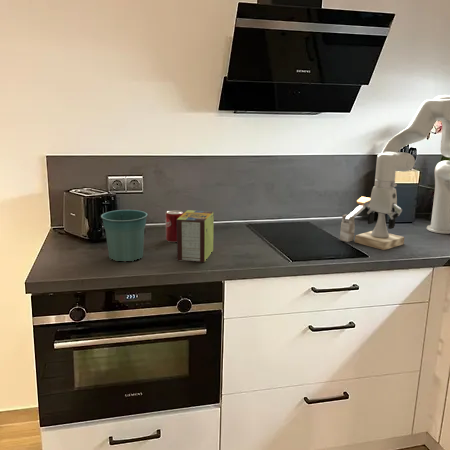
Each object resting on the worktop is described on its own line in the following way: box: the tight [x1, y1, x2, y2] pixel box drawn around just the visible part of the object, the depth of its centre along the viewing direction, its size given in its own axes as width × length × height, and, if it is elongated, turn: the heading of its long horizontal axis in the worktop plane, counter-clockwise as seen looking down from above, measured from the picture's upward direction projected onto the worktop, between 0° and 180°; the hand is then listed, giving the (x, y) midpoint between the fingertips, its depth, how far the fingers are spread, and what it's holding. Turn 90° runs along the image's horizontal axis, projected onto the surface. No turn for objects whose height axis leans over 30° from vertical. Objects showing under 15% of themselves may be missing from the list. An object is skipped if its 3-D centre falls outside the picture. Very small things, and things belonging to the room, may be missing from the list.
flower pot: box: [100, 209, 148, 262], centre depth 189 cm, size 16×16×16 cm
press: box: [339, 214, 405, 251], centre depth 215 cm, size 16×20×10 cm
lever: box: [345, 196, 371, 222], centre depth 219 cm, size 15×6×3 cm, turn 129°
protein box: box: [176, 209, 215, 263], centre depth 193 cm, size 10×15×16 cm
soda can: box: [164, 209, 184, 243], centre depth 212 cm, size 7×7×12 cm
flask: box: [371, 212, 390, 238], centre depth 213 cm, size 7×7×10 cm
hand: (380, 225), depth 213 cm, fingers open, 9 cm apart
